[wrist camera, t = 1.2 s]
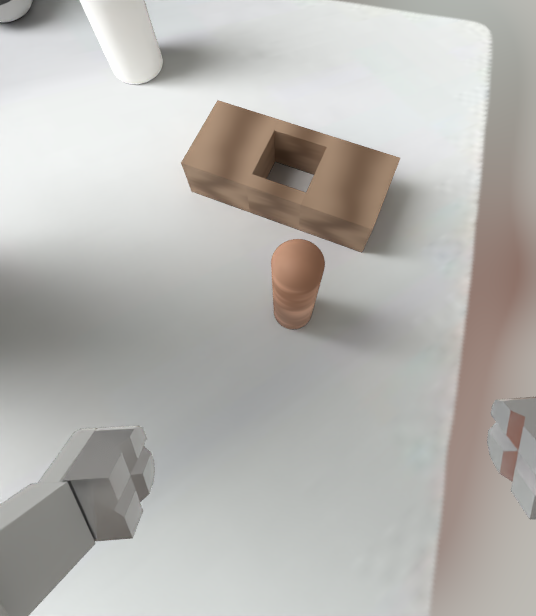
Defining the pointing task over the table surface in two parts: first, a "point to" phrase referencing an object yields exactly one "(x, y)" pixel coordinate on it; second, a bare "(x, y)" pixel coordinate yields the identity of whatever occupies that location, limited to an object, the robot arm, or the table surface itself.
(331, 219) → the socket block
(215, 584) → the table surface
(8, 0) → the pump dispenser
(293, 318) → the peg
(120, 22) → the white bottle
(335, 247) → the table surface
